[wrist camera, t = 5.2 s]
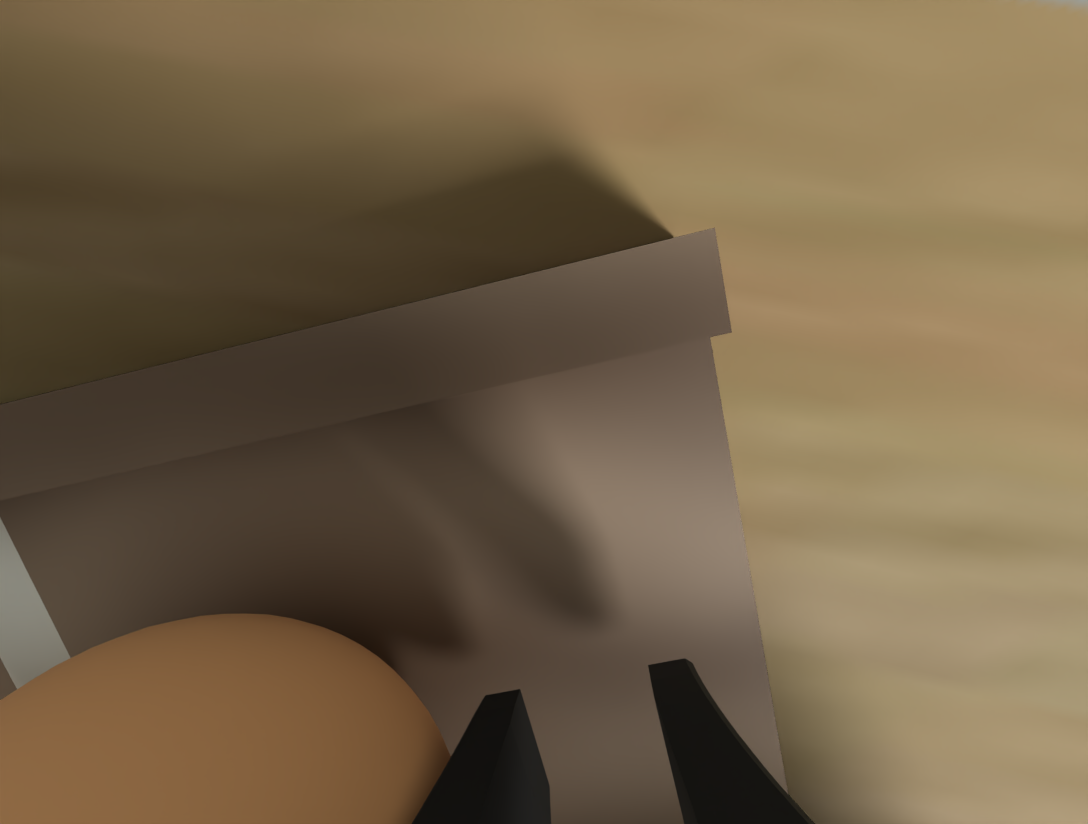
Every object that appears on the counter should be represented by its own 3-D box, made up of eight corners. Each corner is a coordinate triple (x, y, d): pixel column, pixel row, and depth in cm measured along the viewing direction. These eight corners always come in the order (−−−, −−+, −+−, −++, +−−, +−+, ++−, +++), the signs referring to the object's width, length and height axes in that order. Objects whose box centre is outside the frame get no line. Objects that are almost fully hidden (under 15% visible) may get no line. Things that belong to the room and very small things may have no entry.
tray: (783, 844, 14) (929, 1232, 9) (-188, 987, 17) (-574, 1357, 11) (675, 237, 11) (797, 207, 5) (-524, 534, 14) (-1329, 733, 8)
